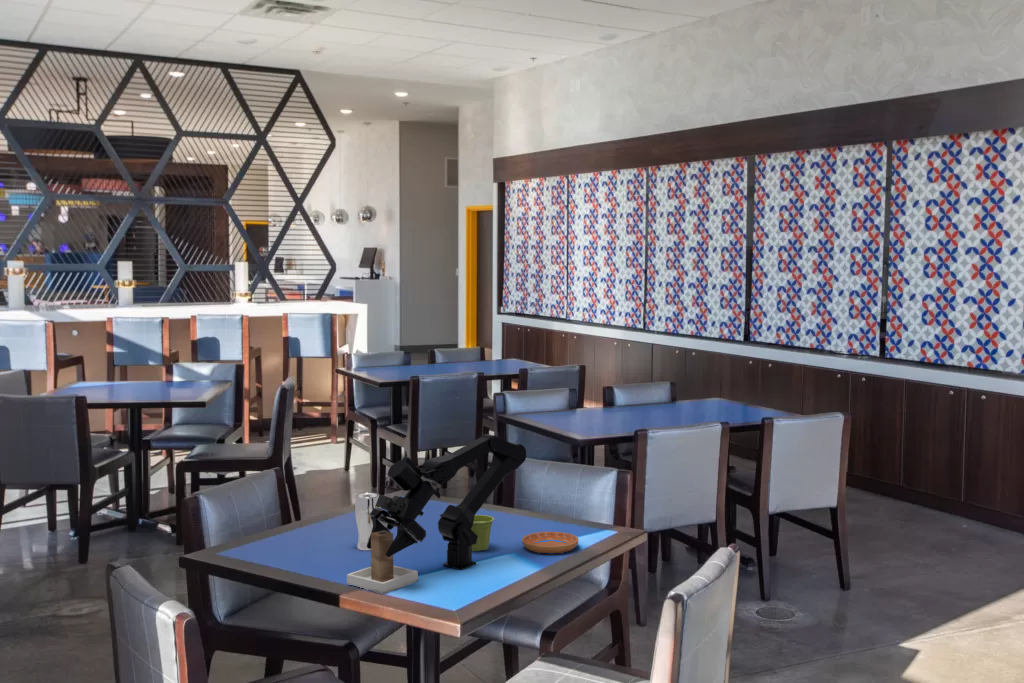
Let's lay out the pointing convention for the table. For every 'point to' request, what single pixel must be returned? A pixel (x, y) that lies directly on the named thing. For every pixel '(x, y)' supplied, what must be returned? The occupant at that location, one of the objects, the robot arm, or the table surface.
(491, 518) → the plant pot
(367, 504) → the beer glass
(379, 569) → the walnut post
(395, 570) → the bus tray
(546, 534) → the saucer
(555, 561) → the table surface
